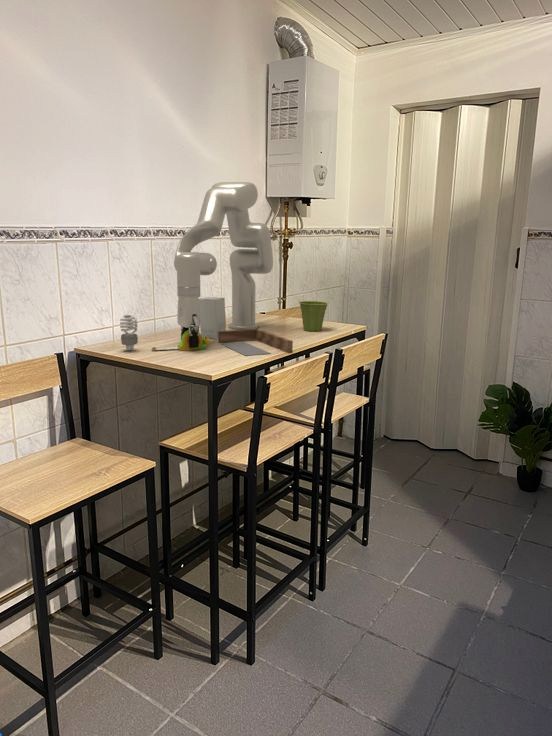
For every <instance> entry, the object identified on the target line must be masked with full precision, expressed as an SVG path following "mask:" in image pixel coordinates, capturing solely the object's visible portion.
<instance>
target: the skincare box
mask: <svg viewBox="0 0 552 736" xmlns="http://www.w3.org/2000/svg"><path fill="white" fill-rule="evenodd" d="M225 301H226V300H225V297H218V296H217V297H216V296H215V297H214V296H213V297H212V296H206V297H201V298H200V297H199V306H200V327H199V331H200V334H201V336H202V338H204V336H207V338H209V339H214V340H218V331H227V320H226V319H227V317H226V316H227V315H226V302H225Z"/></svg>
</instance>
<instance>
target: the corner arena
mask: <svg viewBox="0 0 552 736" xmlns="http://www.w3.org/2000/svg"><path fill="white" fill-rule="evenodd" d="M217 340H218V343H219V344H224V343H236V342H252V341H253V342H254V341H256V342H260V343H262V344H265V345H267V346H268V347H272V348H274V349H278V350H279V349H280V350H279V351H282V352H284V353H287V354H293V348H294V347H293V344H294V343H293V340H291V339H288V338H286V337H283V336H281V335H280V336H279V335H277V334H275V333H271V332H269V331H266V330H264V329H263V330H262V329H260V328H255V329H233V330H232V329H231V330H226V331H218V339H217Z"/></svg>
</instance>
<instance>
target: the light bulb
mask: <svg viewBox="0 0 552 736" xmlns="http://www.w3.org/2000/svg"><path fill="white" fill-rule="evenodd" d="M119 321H120V322H119V325H120V326H119V328H121V329H120V331H121V332H124V333H123V334H121V335H120V341H121V345H124V346H125V349H126V350H127V351H129V352H131V351H132V350H133V349H135V346H136V345H137V344H138V342H139V341H138V340H139V339H138V338H139V337H138V334H137V333H136V332H137V331H138V327H139V326H138V319H137V317H135V316H133V315H132V314H123V318H120V319H119ZM128 331H132V332H131V333H129V332H128Z"/></svg>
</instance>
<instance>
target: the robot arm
mask: <svg viewBox="0 0 552 736" xmlns="http://www.w3.org/2000/svg"><path fill="white" fill-rule="evenodd" d="M258 196H259V191H258V187H257V186H256V185H255V183H253V182H250V181H246V182H245V181H243V182H241V181H239V182H237V181H236V182H235V181H227V182H226V181H224V182H223V181H221V182H217V183H214V184H213V185H212V186H211V188H209V189H208V190H207V191H206V193H205V195H204V198H203V202H202V205H201V209H200V211H199V216H198V220H197V222H196V224H194V226H192V227H191V228H190V229H189V230H188V231H186V233H185V234H184V235H182V237H181V238H180V240H179V242H178V244H177V248H176V250H175V253H174V258H173V259H174V260H173V267H174V269H175V271H176V284H177V285H176V287H177V288H176V289H177V291H176V293H177V295H176V296H177V313H176V316H177V318H176V319H177V320H176V321H177V324H178V325H179V326H180V333H181V334H180V335H181V337H180V339H181V340H182V335H183V333H184V332H185V331H187V330H189V333H190V336H189V348H197V347H199V337H198V336H199V333H200V332H199V331H200V306H199V299H200V297H201V276H210V275H212V274H213V273H215V272H216V269H217V267H218V265H217V264H218V262H217V261H218V260H217V259H216V257H215V256H214V255H213V254H212V253H210V252H197V251H193V252H192V250H193V249H194V248H195V247H196V246H197V245H199V244H201V243H203V242H205V241H206V242H207V240H210V239H212V238H215V237H217V236H218V235H219V234H220V233H221V232H222V229H223V224H224V220H225V216H226V219H227V227H228V235H229V241H230V242H231V245H232V246H233V247H236V248H238V249H235V250H233V251H232V252H231V253H230V255H229V266H230V271H231V303H232V304H231V306H232V307H231V322H230V323H228V328H229V329H233V330H246V329H259V327H260V324H259V323H257V322H256V288H257V287H256V281H255V280H254V278H253V276H252V275H251V274H256V275H260V274H261V275H267V274H269V273H270V272H271V271H272V270H273V267H274V256H273V248H272V247H273V246H272V239H271V238H272V237H271V231H270V228H269V227H268V225H266V224H265V223H261V222H251V221H250V215H249V209H251V208H252V207H254V206H255V204H256V203H257V200H258ZM192 329H193V330H192ZM181 340H180V341H181Z"/></svg>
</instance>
